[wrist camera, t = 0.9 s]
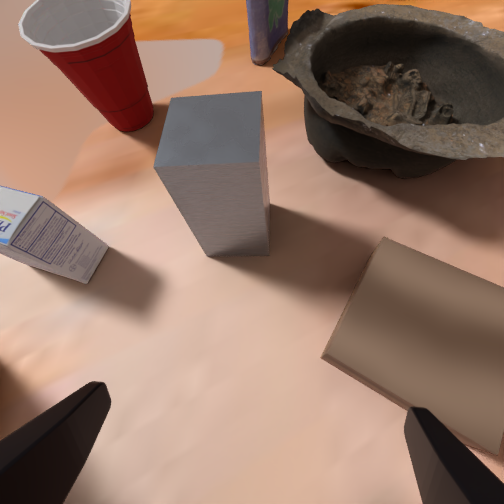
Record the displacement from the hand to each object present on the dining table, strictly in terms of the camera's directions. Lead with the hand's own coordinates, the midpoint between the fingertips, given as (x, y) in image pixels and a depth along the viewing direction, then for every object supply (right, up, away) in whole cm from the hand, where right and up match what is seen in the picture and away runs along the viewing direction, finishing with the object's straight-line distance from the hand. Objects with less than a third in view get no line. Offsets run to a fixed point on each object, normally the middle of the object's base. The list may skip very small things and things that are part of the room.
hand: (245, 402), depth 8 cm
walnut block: (+12, -2, +13) cm, 18 cm away
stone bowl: (+16, +19, +23) cm, 34 cm away
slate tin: (-1, +7, +19) cm, 20 cm away
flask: (+3, +35, +33) cm, 48 cm away
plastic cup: (-16, +22, +29) cm, 40 cm away
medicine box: (-19, +4, +20) cm, 28 cm away
